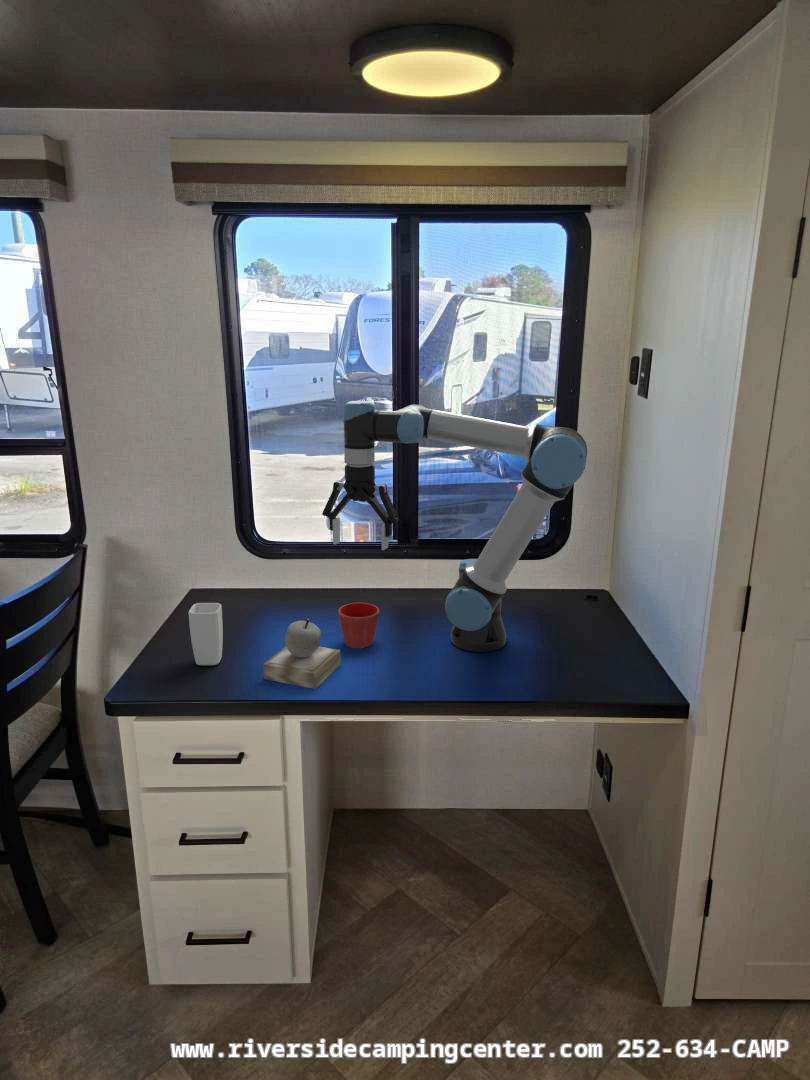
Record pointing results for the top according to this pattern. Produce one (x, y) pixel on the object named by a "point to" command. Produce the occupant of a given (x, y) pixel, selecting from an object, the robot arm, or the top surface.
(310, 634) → the decorative object
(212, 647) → the cup
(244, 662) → the top surface
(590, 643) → the top surface
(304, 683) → the plinth
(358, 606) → the flower pot
